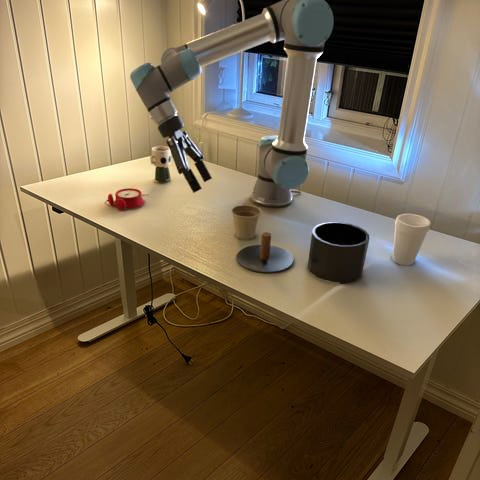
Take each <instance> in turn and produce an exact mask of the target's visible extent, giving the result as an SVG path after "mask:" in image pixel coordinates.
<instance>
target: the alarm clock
mask: <svg viewBox="0 0 480 480" xmlns="http://www.w3.org/2000/svg"><path fill="white" fill-rule="evenodd" d="M114 193H115V194H114V196H115V200H114V196H113V194H112V193H109V194H108V195H107V199H106V201H105V202H104V205H106V206H108V207H116V209H117V210H119V211H125V210H126V209H131V210H132V209H136V208H140V207H142V206H144V204H145V199H144V198H143V197H144V196H145V194H143V193H142V191H141V190H140V189H137V188H130V187H129V188H128V187H127V188H122V189H121V188H120V189H119V190H117V191H115V192H114ZM146 196H149V194H148V193H147V194H146Z"/></svg>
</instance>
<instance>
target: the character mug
mask: <svg viewBox="0 0 480 480" xmlns="http://www.w3.org/2000/svg"><path fill="white" fill-rule="evenodd" d="M149 159H150V164H151V165H153V166H154V167H155V171H154V181H155V182H158V183H162V184H165V183H168V182H170V181H171V174H170V168H169V167H170V166H171V164H172V160H173V157H172V154H171V151H170V148H169V146H166V145H157V146H153V147H151V155H150V158H149Z"/></svg>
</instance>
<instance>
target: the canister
mask: <svg viewBox="0 0 480 480" xmlns="http://www.w3.org/2000/svg"><path fill="white" fill-rule="evenodd" d="M369 243H370V234H369V233H368V232H367V231H366V230H365V229H364V228H362V227H360V226H358V225H355V224H351V223H348V222H342V221H327V222H322V223H319V224H316V225H315V226H314V227H313V228H312V230H311V236H310V245H309V246H310V247H309V253H308V260H307V266H306V267H307V269H308V271H309V273H310V274H312V275H313V276H314V277H316V278H318V279H321V280H323V281H327V282H332V283H338V284H339V285H345V284H351V283H355V282H357V281H359V280H360V279H361V277H362V275H363V271H364V267H365V263H366V258H367V253H368V248H369Z"/></svg>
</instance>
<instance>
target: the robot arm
mask: <svg viewBox="0 0 480 480" xmlns="http://www.w3.org/2000/svg"><path fill="white" fill-rule="evenodd" d="M333 29H334V14H333V11H332V9H331V7H330V5H329V4H328V2H326V0H280V1H278V2H276V3H274V4H272V5H269V6H267V7H265V8H263V10H262V12H261V13H260V14H257V15H255V16H252V17H250V18H247V19H245V20H242V21H240V22H237V23H235V24H232V25H230V26H227V27H224V28H222V29H220V30H217V31H215V32H212V33H209V34H207V35H204V36H202V37H199V38H197V39H194V40H192V41H189V42H187V43H185V44H181V45H178V46H176V47H168V48H167V49H165V50H164V51H162V54H161V58H160V64H159V65H156V66H154V65H153V64H152V63H151V62H145V63H143V64H141V65H139V66H138V67H137V68H135V69H134V70H132V72H130V75H129V76H130V77H129V78H130V81H131V83H132V85H133V87H134V89H135V91H136V93H137V95H138V96H139V98H140V100H141V102H142V103H143V105H144V106H145V109H146V110H147V112H148V113H149V115H150V116H149V118H150V119H151V120H153V122H154V124H155V125H157V130H158V132H159V134H160V135H161V137H162V138H163V139H166V138H169V139H167V140H166V141H165V142H166V144H167V147H169V148H170V151H171V154H172V160H173V162H174V164H175V167H176V170H177V172H178V174H179V175H181V174H182V175H183V177H184V179H185V180H186V182H187V184H188V186H189V188H190V189H191V191H192V193H193V194H194V193H196V192H199V191H200V190H203V188H202V186H201V184H200V182H199V181H198V179H197V177H196V175H195V174H194V171H193V170H192V168H190V166H189V162H188V159H187V156H188V157H189V158H190V159H191V160H192V161H193V162H194V166H195V168H196V169H197V172H198V174H199V175H200V177H201V178H202V180H203V182H204V183H206V182H207V181H209V180H212V179H213V177H212V175H211V173H210V172H209V169H208V168H207V165H206V164H205V162H204V160H203V159H204V158H205V156H204V154H203V153H202V152H201V151H200V149H199V148H198V147H197V146H196V144H195V142H194V141H193V140H192V138H191V137H190V136H189V134H188V132H187V131H186V130H182V129H183V128H185V123H184V121H183V119H182V117H181V115H179V114H177V113H178V109H177V108H176V106H175V104H174V102H173V101H172V99H171V97H170V95H169V94H171V93H172V92H174V91H175V90H177V89H179V88H180V87H183V86H184V85H185V84H188V83H189V82H192V81H194V80H195V79H196V78H198V77H199V76H200V75H201V74H202V72H203V70H202V68H203V67H206V66H209V65H211V64H213V63H216V62H218V61H221V60H224V59H227V58H230V57H231V56H234V55H237V54H239V53H241V52H245V51H247V50H249V49H252V48H254V47H257V46H260V45H263V44H264V43H268V42H270V43H272V44H275V43H277V42H281V41H284V43H283V50H284V51H285V53H286V55H287V62H286V69H285V77H284V84H283V92H282V100H281V101H282V102H281V110H280V117H279V124H278V125H279V126H278V133H277V135H264V136H262V137H261V138H260V139H259V143H258V158H257V159H258V161H257V177H256V178H257V179H256V181H255V184H254V186H253V189H252V192H251V201H252V202H253V203H255V204H256V205H259V206H262V207H267V208H268V207H269V208H280V207H281V208H282V207H285V206H288V205H290V204H292V202H293V201H292V200H293V194H294V193H295V194H301V192H302V191H300V190H294V189H297V188H299V187H300V186H301V185H303V184H304V183H305V181H306V180H307V179H308V177H309V174H310V168H309V164H308V161H307V154H308V145H307V144H306V142H305V135H306V130H307V123H308V118H309V117H308V116H309V110H310V103H311V99H312V90H313V86H314V78H315V72H316V66H317V59H318V58H320V56H321V55H322V54H323V53H324V47H325V42H326V41H327V40H328V39H329V38H330V36H331V34H332V31H333ZM186 154H187V155H186Z"/></svg>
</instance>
